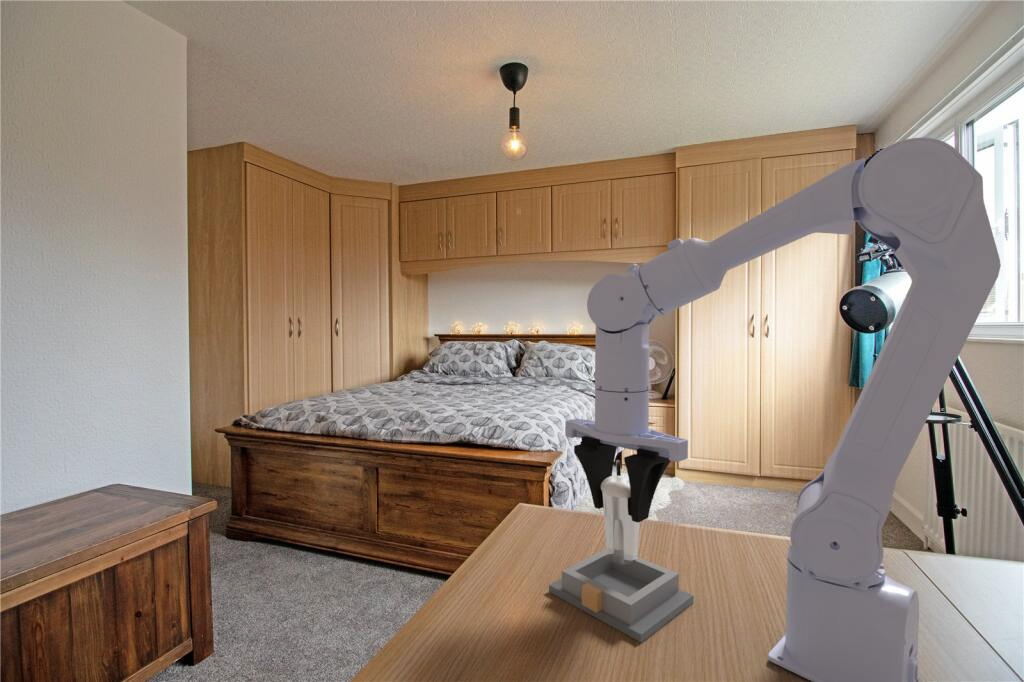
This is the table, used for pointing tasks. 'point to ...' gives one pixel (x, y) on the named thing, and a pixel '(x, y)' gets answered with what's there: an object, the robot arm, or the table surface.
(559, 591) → the box
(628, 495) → the milkshake
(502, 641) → the table surface
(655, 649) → the table surface
